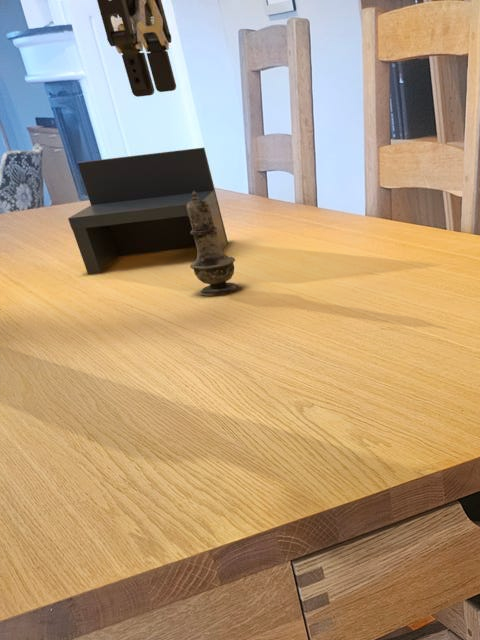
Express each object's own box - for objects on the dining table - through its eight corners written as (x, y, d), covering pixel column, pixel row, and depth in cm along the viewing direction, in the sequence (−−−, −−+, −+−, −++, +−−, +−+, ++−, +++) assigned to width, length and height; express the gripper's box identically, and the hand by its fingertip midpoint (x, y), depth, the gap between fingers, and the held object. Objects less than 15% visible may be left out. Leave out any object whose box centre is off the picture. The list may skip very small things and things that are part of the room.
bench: (87, 274, 129) (51, 172, 121) (110, 256, 140) (79, 162, 132) (215, 259, 130) (189, 156, 121) (228, 242, 141) (204, 147, 133)
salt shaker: (230, 283, 115) (205, 185, 107) (249, 288, 111) (225, 187, 104) (190, 293, 112) (162, 193, 105) (209, 298, 108) (181, 195, 101)
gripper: (92, -87, 88) (143, 93, 98) (38, -106, 77) (100, 101, 86) (161, -96, 88) (205, 86, 98) (117, -116, 77) (171, 93, 86)
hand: (156, 93), depth 92 cm, fingers open, 8 cm apart
